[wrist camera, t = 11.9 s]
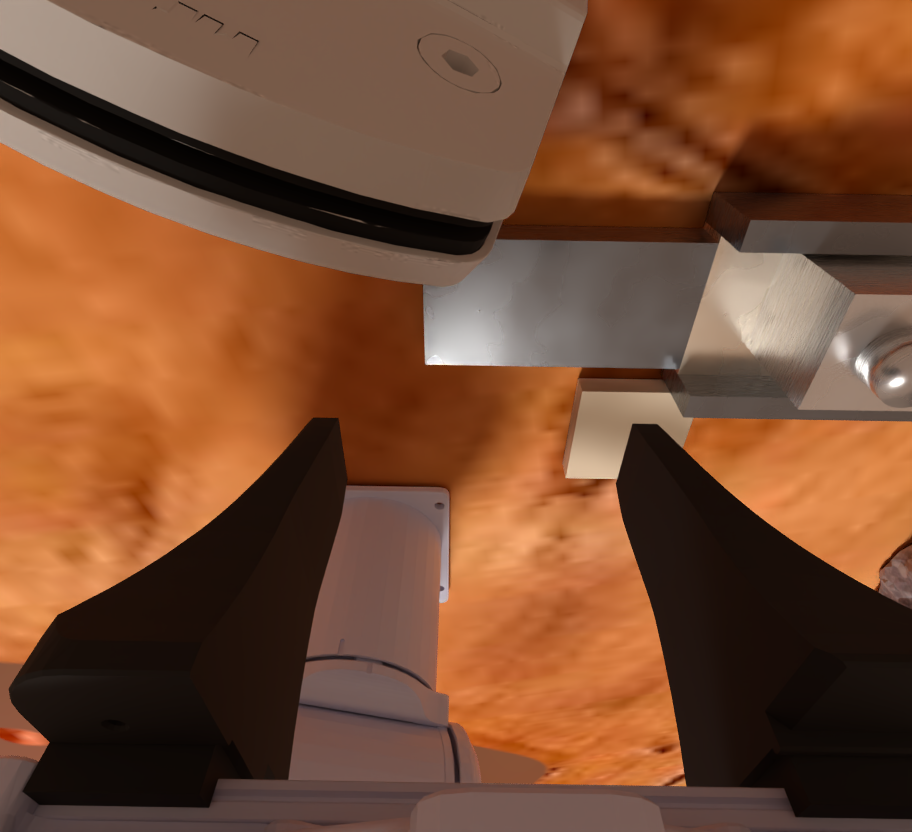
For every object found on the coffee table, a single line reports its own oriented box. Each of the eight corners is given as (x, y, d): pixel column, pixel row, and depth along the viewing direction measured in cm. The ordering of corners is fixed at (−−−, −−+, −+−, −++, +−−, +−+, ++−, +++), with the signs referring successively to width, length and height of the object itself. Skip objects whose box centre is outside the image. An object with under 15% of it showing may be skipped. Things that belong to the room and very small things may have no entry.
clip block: (851, 348, 21) (949, 435, 16) (746, 346, 21) (817, 433, 16) (906, 244, 18) (1036, 316, 14) (787, 243, 18) (882, 313, 14)
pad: (665, 465, 26) (671, 480, 26) (562, 463, 26) (565, 477, 26) (693, 380, 23) (702, 393, 23) (578, 378, 23) (582, 391, 23)
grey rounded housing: (600, -3, 15) (601, 210, 10) (521, 142, 19) (490, 355, 14) (-73, -409, 11) (-711, -438, 6) (-6, -125, 15) (-354, 23, 10)
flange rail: (870, 378, 23) (916, 421, 21) (427, 370, 23) (423, 413, 21) (975, 196, 19) (1049, 225, 16) (423, 187, 19) (418, 214, 16)
